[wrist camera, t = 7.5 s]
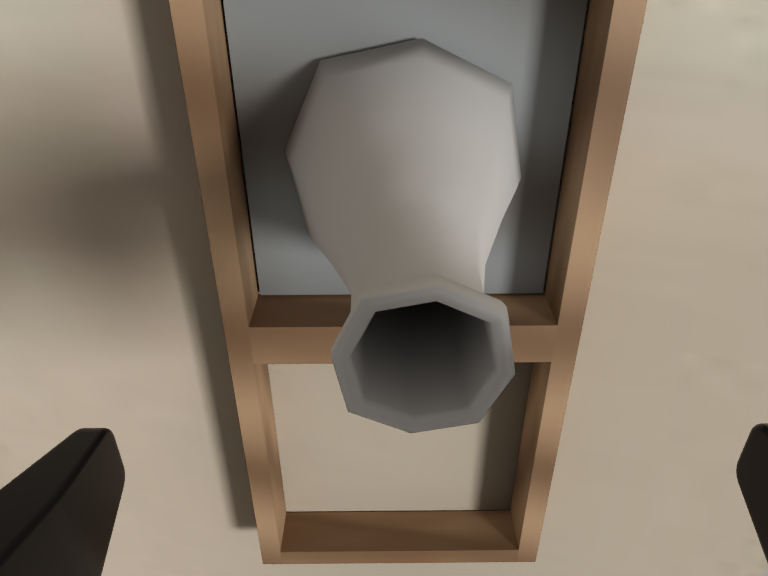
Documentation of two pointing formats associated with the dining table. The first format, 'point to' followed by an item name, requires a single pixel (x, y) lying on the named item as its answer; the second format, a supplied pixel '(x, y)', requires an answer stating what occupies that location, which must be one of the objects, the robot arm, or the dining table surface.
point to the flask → (411, 226)
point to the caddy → (323, 284)
